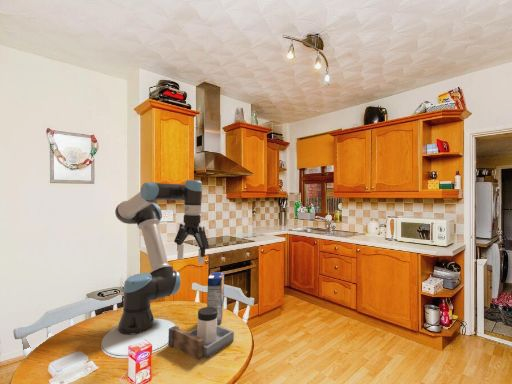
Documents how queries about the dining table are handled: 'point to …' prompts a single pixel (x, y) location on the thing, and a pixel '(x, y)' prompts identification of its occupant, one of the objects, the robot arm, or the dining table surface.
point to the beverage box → (216, 293)
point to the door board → (186, 342)
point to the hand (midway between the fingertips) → (190, 261)
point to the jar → (207, 324)
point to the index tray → (221, 341)
